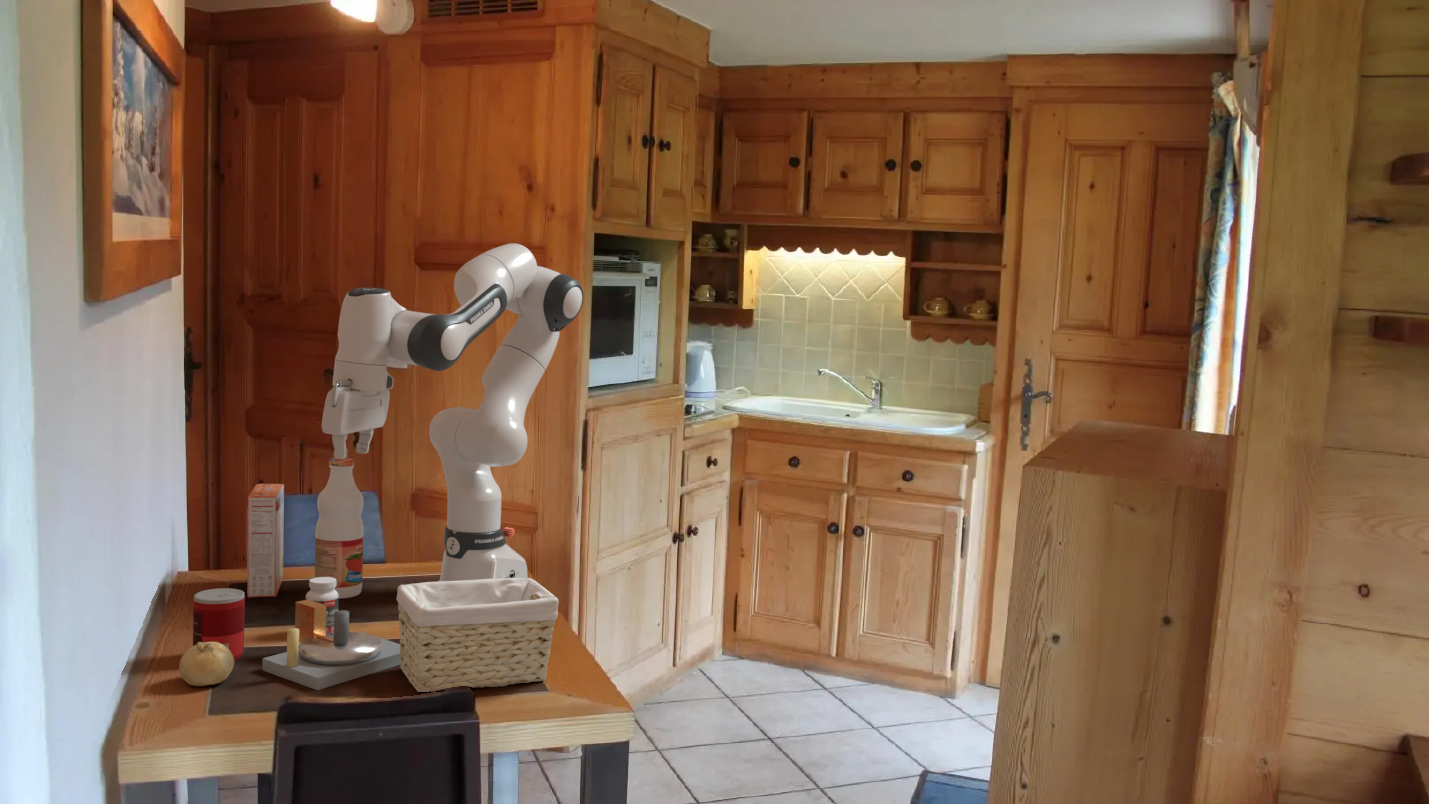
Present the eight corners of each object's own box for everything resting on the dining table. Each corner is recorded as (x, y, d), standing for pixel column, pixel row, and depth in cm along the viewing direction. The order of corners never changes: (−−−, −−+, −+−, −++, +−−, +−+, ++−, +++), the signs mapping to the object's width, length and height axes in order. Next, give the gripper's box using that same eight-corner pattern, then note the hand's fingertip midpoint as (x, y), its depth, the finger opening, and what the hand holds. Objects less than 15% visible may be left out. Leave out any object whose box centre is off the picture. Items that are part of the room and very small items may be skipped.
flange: (331, 630, 201) (332, 593, 200) (397, 651, 192) (398, 612, 191) (267, 647, 190) (268, 608, 189) (334, 670, 181) (335, 629, 180)
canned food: (253, 655, 192) (255, 592, 191) (217, 668, 185) (218, 603, 184) (219, 647, 195) (220, 585, 194) (182, 660, 188) (183, 595, 187)
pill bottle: (326, 639, 203) (328, 585, 202) (298, 635, 204) (299, 581, 203) (343, 630, 208) (345, 577, 208) (315, 626, 210) (316, 574, 209)
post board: (360, 642, 202) (361, 593, 201) (414, 660, 194) (416, 608, 194) (262, 670, 185) (263, 616, 184) (317, 690, 178) (319, 634, 177)
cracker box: (253, 580, 238) (255, 482, 237) (283, 579, 240) (285, 483, 238) (244, 598, 225) (246, 495, 223) (276, 597, 227) (278, 495, 225)
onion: (171, 680, 178) (171, 636, 178) (222, 670, 184) (222, 628, 183) (189, 695, 173) (190, 650, 172) (241, 684, 178) (242, 641, 178)
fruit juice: (316, 587, 236) (320, 455, 233) (363, 587, 238) (367, 456, 235) (310, 599, 227) (314, 462, 224) (359, 599, 229) (363, 463, 226)
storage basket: (527, 654, 201) (530, 573, 200) (558, 684, 187) (562, 597, 186) (391, 668, 190) (393, 582, 189) (413, 701, 176) (416, 609, 174)
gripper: (352, 383, 188) (344, 464, 189) (397, 379, 209) (389, 452, 210) (316, 378, 189) (308, 459, 190) (364, 374, 209) (357, 448, 210)
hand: (351, 455), depth 200 cm, fingers open, 8 cm apart
